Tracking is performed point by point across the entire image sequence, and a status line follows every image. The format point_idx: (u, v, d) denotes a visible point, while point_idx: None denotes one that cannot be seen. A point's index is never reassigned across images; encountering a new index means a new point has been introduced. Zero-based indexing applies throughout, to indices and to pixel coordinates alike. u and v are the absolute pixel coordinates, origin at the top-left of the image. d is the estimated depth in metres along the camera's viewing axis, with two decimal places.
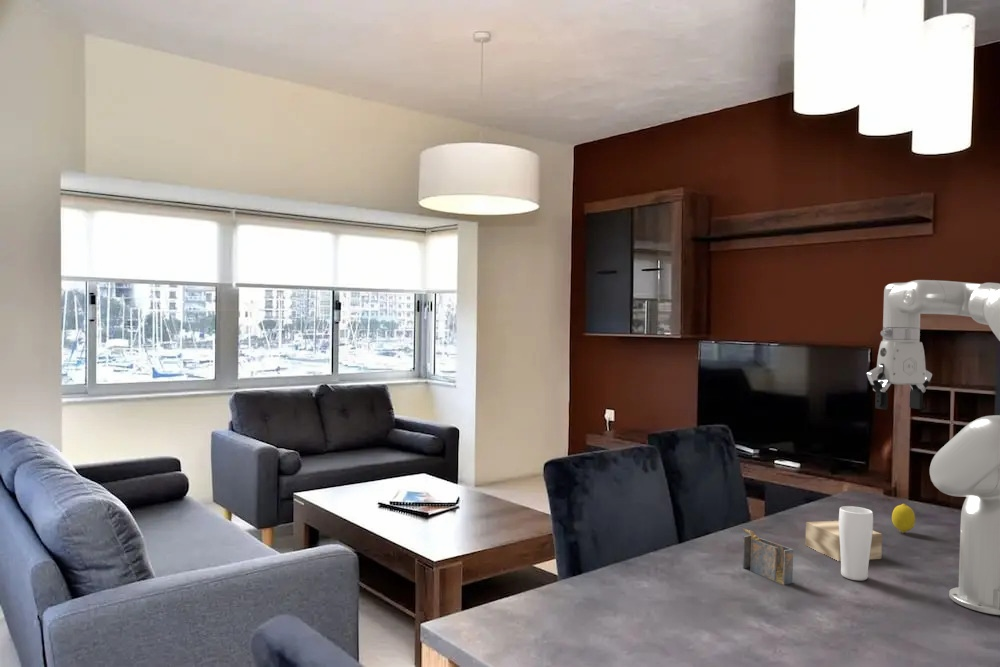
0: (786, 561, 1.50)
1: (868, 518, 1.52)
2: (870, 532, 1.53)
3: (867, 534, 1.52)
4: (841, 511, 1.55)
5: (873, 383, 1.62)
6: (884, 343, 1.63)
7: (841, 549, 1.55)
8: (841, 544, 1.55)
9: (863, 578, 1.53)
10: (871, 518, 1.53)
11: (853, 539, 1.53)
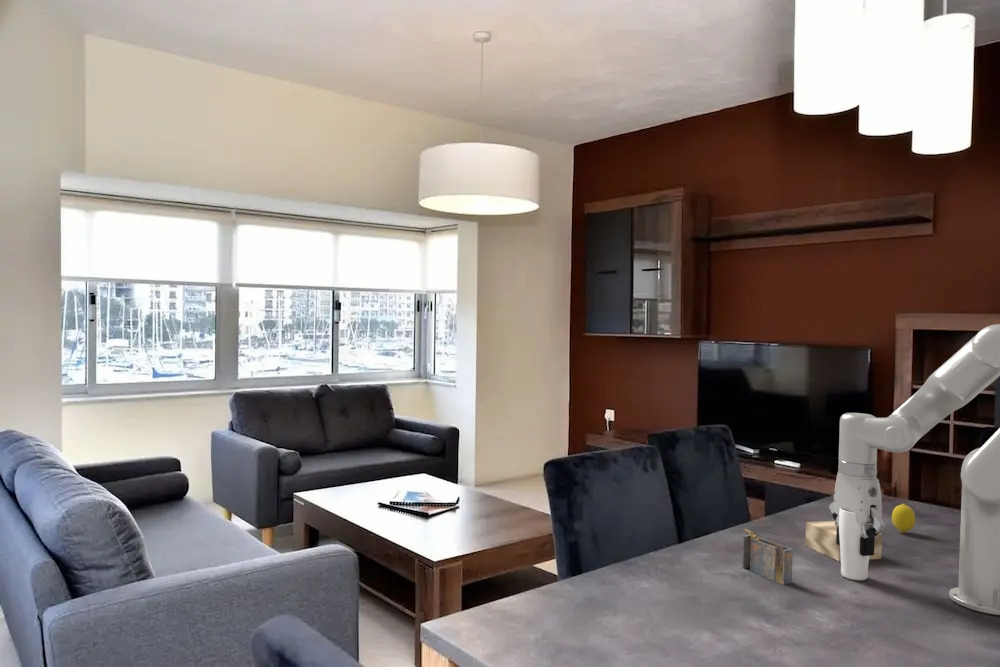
0: (786, 561, 1.50)
1: (868, 518, 1.52)
2: None
3: None
4: (841, 511, 1.55)
5: (878, 532, 1.49)
6: (871, 482, 1.51)
7: (841, 549, 1.55)
8: (841, 544, 1.55)
9: (863, 578, 1.53)
10: None
11: (852, 539, 1.53)
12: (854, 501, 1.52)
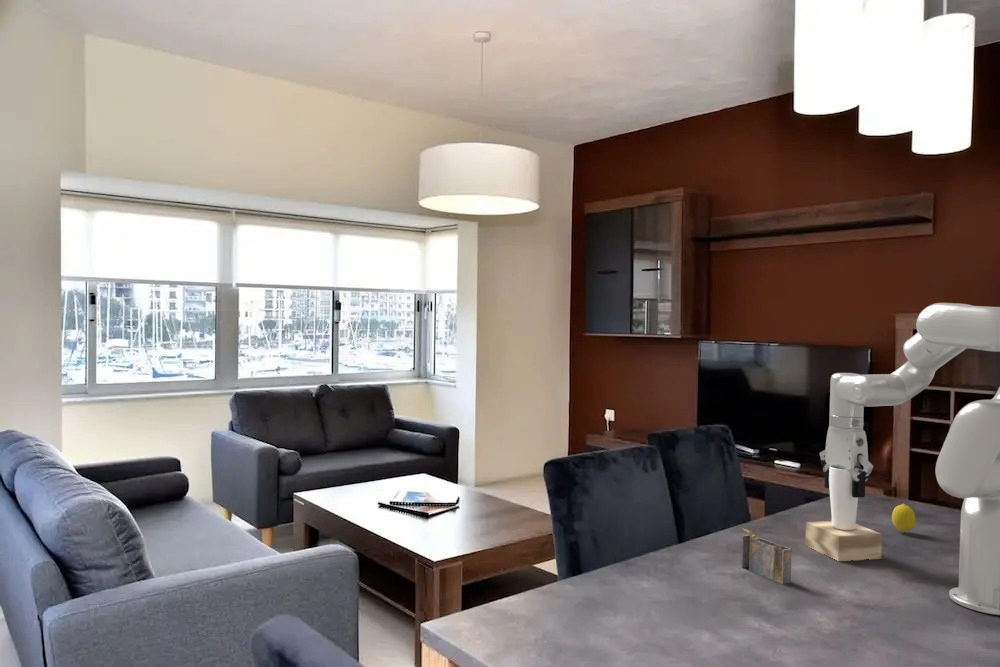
0: (785, 560, 1.50)
1: None
2: None
3: None
4: (831, 469, 1.73)
5: (868, 474, 1.66)
6: (858, 433, 1.69)
7: (831, 503, 1.73)
8: (831, 498, 1.73)
9: (851, 528, 1.70)
10: (858, 474, 1.70)
11: (842, 493, 1.70)
12: (843, 451, 1.70)
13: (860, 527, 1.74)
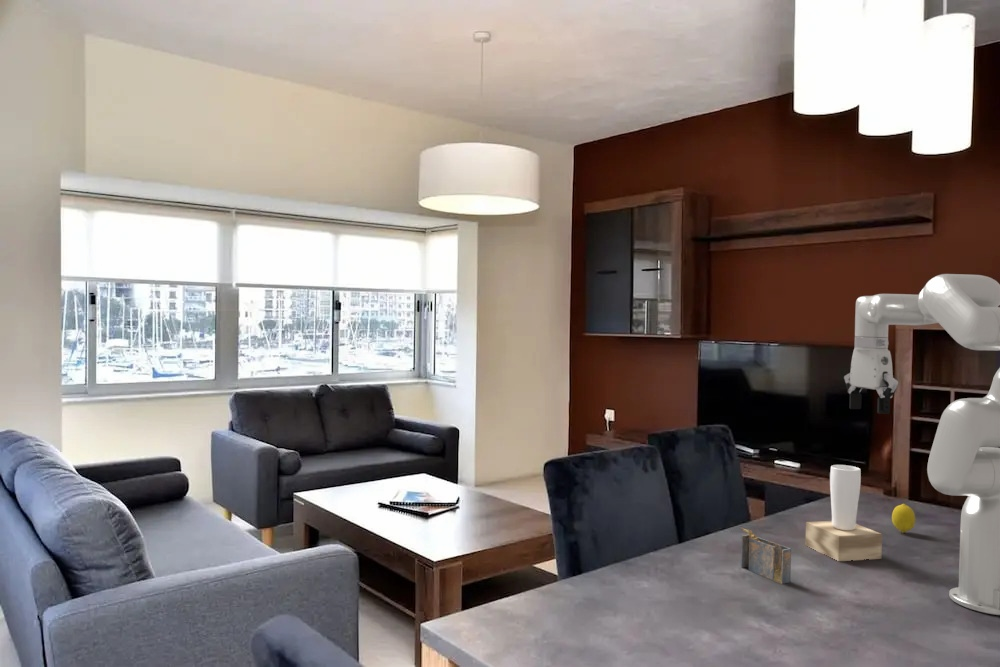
0: (784, 560, 1.51)
1: (857, 474, 1.69)
2: (858, 487, 1.70)
3: (855, 489, 1.69)
4: (832, 469, 1.72)
5: (894, 391, 1.72)
6: (883, 352, 1.75)
7: (832, 503, 1.73)
8: (832, 498, 1.73)
9: (852, 528, 1.70)
10: (859, 474, 1.70)
11: (843, 494, 1.70)
12: (868, 370, 1.76)
13: (860, 527, 1.74)
